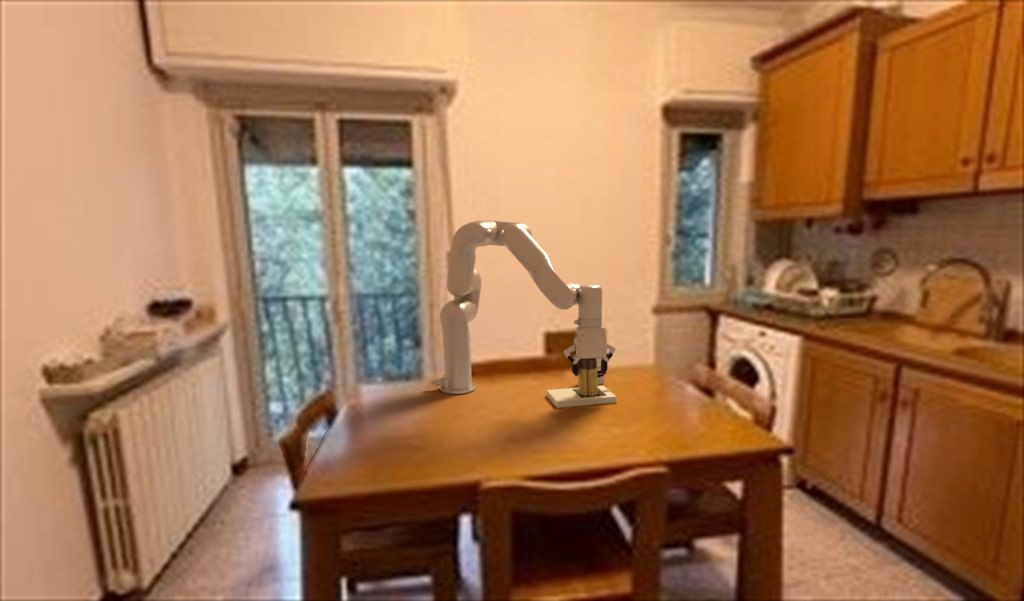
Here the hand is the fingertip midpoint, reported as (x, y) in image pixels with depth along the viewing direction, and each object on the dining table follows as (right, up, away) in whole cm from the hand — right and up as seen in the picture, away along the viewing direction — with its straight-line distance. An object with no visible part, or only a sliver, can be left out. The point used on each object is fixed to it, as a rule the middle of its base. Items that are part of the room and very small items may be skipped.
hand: (589, 374), depth 185 cm
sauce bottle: (0, -8, +1) cm, 9 cm away
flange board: (-3, -8, +1) cm, 9 cm away
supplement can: (+4, -6, +18) cm, 19 cm away
